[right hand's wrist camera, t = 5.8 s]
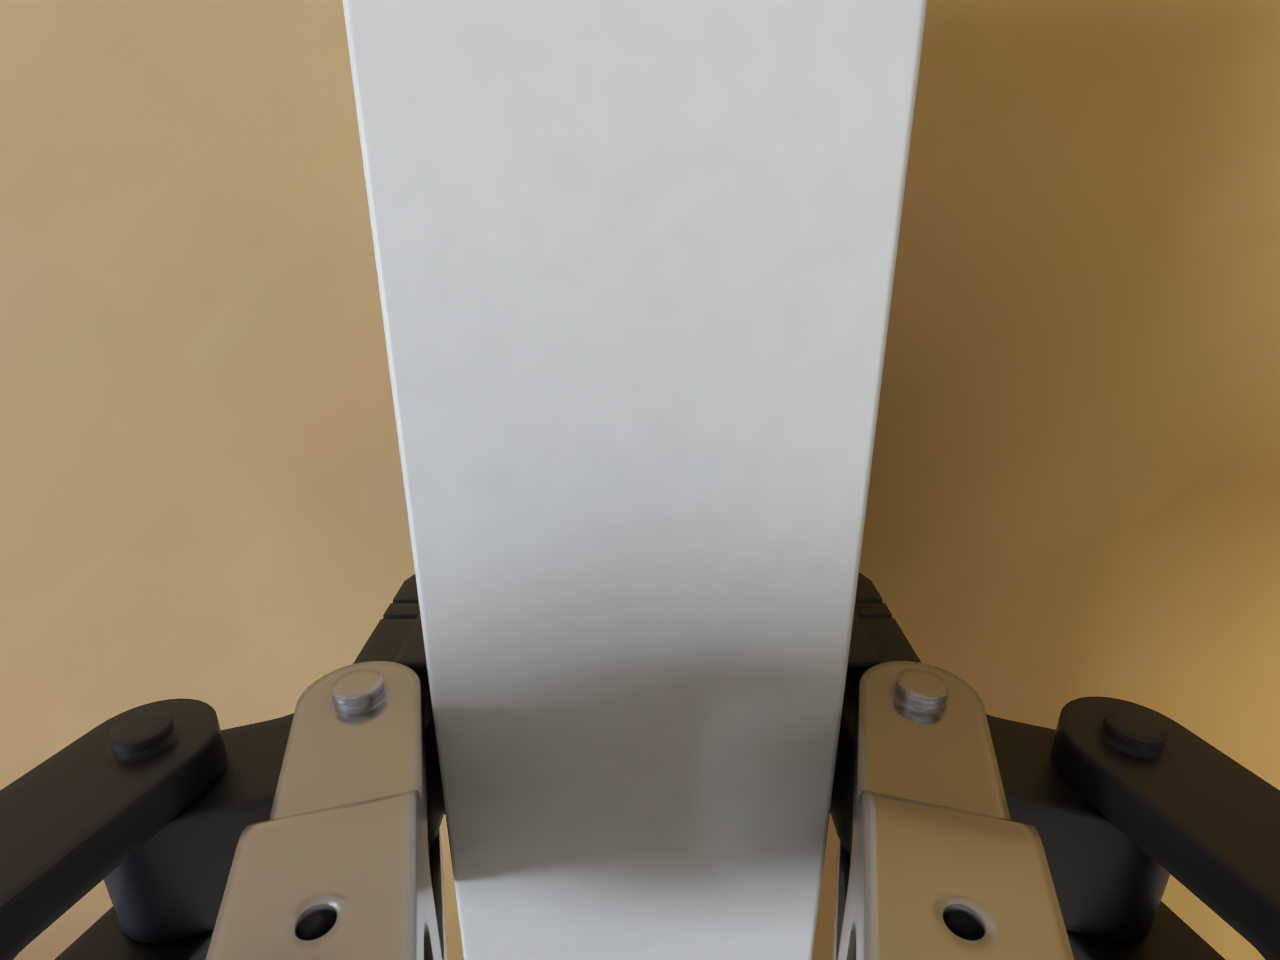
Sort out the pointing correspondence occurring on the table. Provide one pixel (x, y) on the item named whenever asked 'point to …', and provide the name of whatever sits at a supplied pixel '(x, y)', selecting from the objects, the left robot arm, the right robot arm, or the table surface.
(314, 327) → the table surface
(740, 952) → the bar
